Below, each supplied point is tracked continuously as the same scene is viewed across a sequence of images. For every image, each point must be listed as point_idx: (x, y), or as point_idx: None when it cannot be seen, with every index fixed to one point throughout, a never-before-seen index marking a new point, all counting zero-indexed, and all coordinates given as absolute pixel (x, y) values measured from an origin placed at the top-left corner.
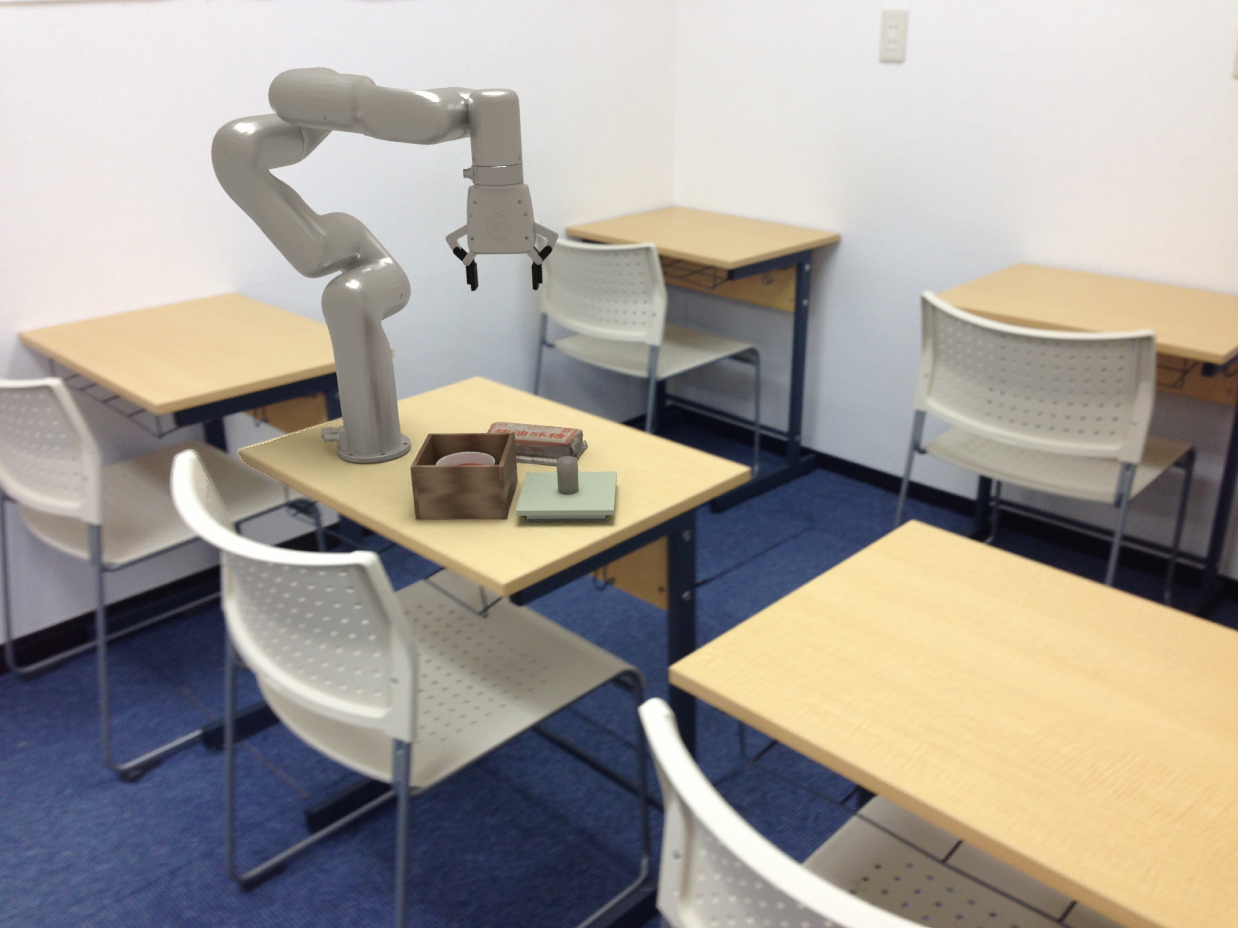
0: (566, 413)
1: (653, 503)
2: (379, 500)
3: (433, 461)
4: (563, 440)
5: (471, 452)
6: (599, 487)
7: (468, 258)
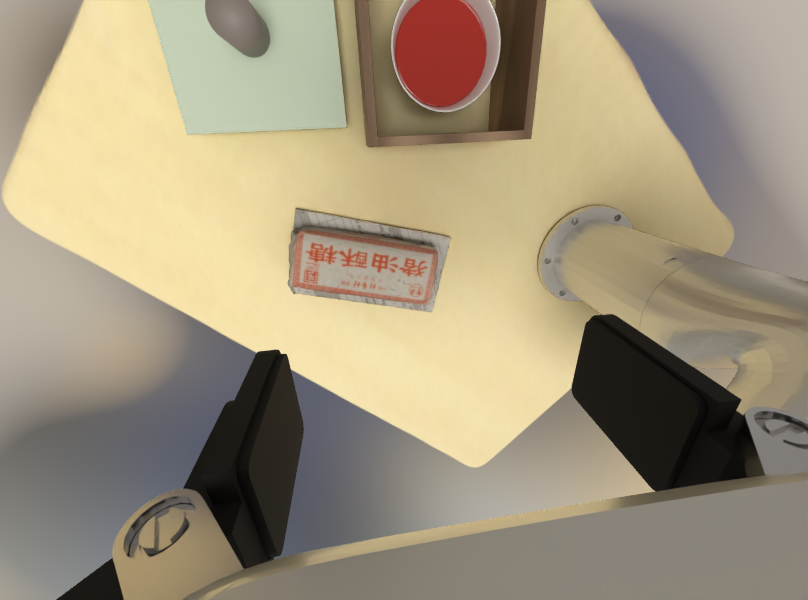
0: (348, 393)
1: (103, 48)
2: (567, 61)
3: (504, 121)
4: (307, 239)
5: (443, 110)
6: (193, 49)
7: (806, 456)
